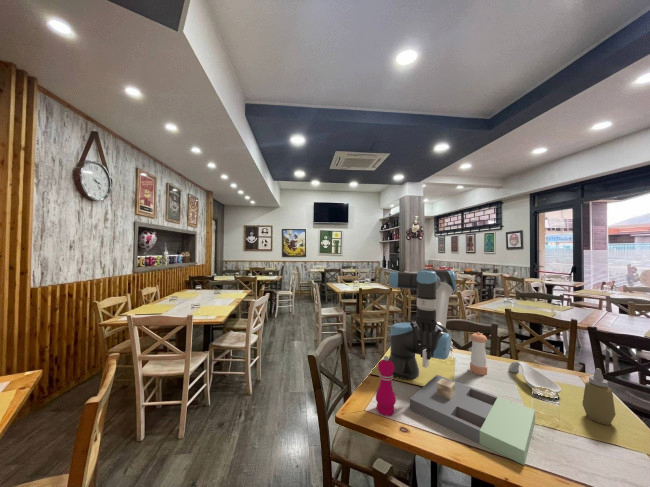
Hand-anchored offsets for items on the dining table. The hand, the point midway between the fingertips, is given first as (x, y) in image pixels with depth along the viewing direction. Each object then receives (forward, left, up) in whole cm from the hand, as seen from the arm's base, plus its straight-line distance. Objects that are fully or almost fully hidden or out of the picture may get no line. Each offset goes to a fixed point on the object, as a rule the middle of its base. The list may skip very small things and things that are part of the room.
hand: (425, 366), depth 103 cm
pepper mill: (-7, -20, -12) cm, 24 cm away
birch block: (+8, 0, -8) cm, 11 cm away
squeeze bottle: (+49, +31, -12) cm, 60 cm away
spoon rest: (+29, +45, -13) cm, 55 cm away
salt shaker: (+9, +40, -12) cm, 43 cm away
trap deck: (+16, 0, -12) cm, 20 cm away
